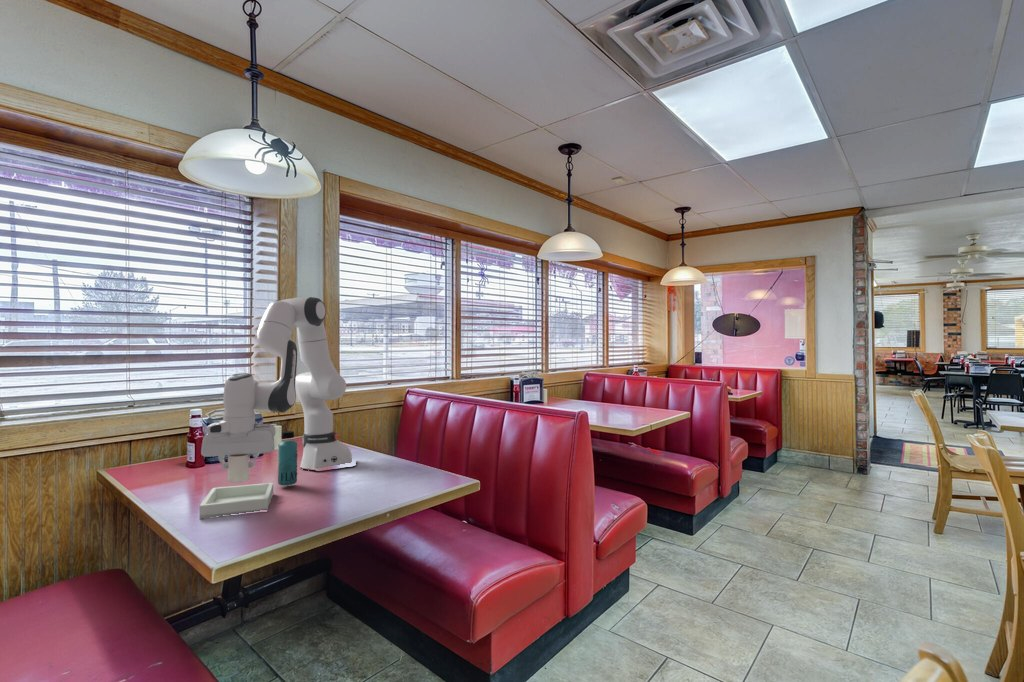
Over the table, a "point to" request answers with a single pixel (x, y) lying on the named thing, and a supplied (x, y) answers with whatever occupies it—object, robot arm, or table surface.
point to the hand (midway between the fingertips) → (238, 468)
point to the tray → (236, 500)
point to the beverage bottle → (287, 460)
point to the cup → (238, 468)
